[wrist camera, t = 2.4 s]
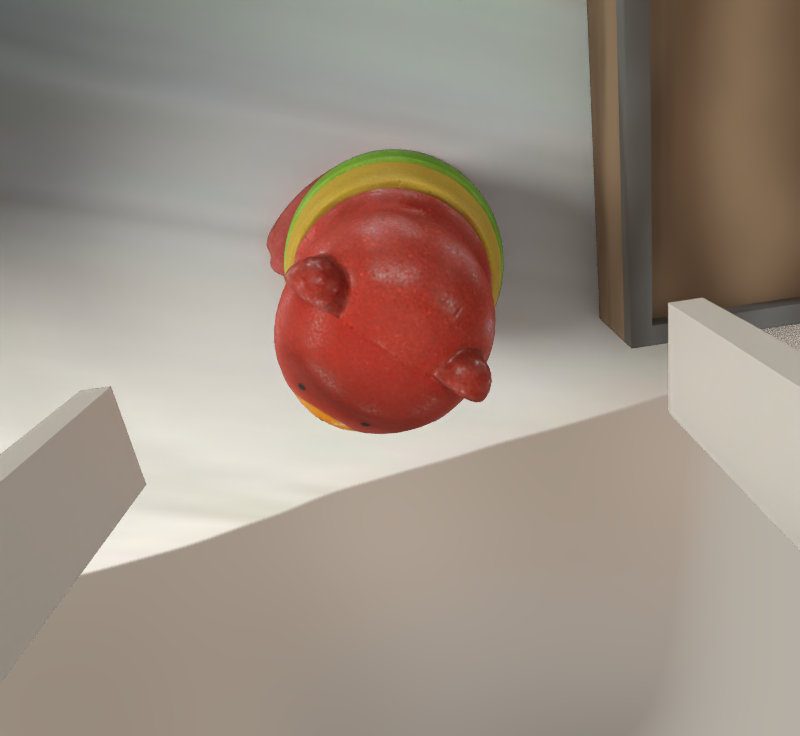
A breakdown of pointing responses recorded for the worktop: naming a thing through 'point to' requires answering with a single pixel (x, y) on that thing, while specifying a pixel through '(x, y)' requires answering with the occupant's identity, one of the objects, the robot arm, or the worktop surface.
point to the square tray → (695, 160)
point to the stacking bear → (387, 292)
